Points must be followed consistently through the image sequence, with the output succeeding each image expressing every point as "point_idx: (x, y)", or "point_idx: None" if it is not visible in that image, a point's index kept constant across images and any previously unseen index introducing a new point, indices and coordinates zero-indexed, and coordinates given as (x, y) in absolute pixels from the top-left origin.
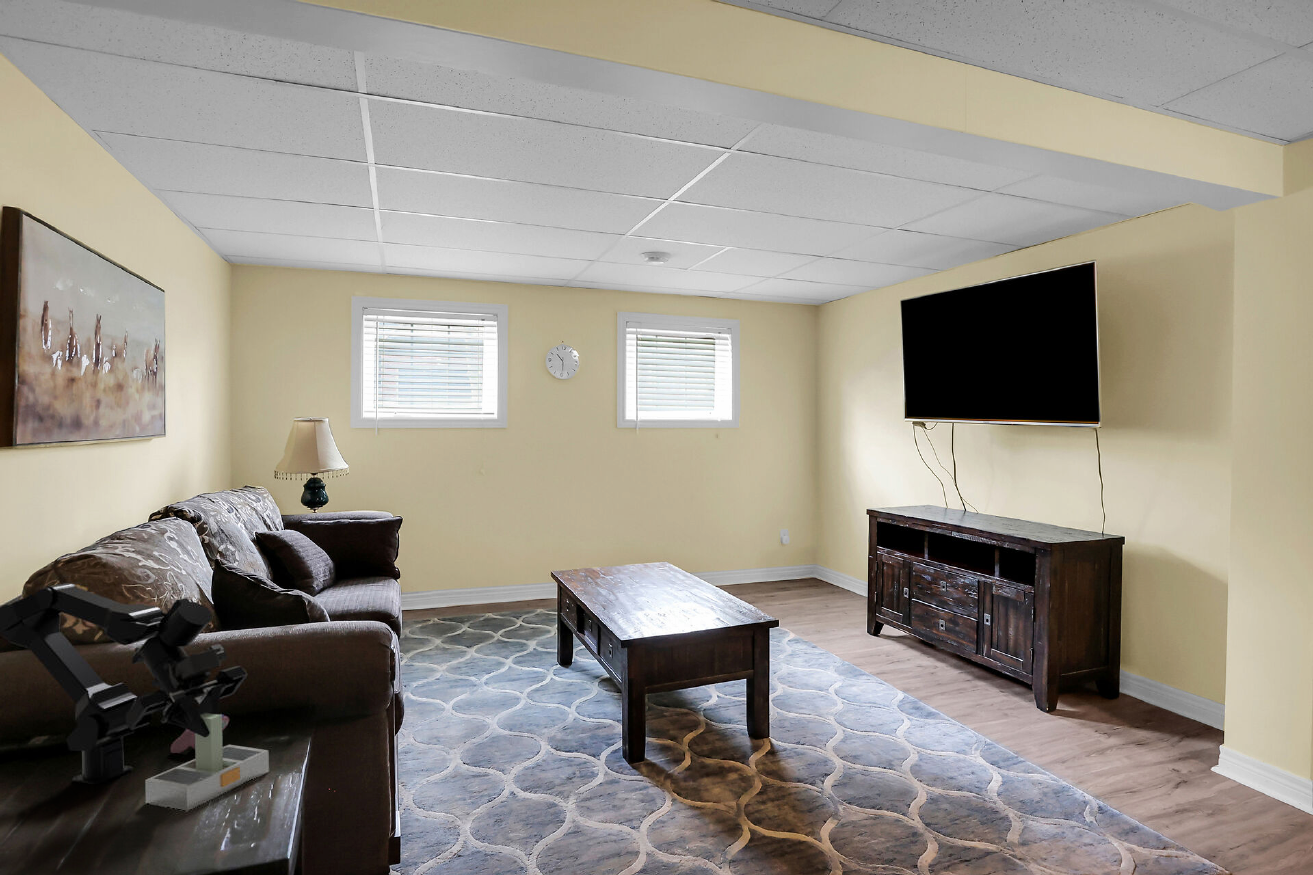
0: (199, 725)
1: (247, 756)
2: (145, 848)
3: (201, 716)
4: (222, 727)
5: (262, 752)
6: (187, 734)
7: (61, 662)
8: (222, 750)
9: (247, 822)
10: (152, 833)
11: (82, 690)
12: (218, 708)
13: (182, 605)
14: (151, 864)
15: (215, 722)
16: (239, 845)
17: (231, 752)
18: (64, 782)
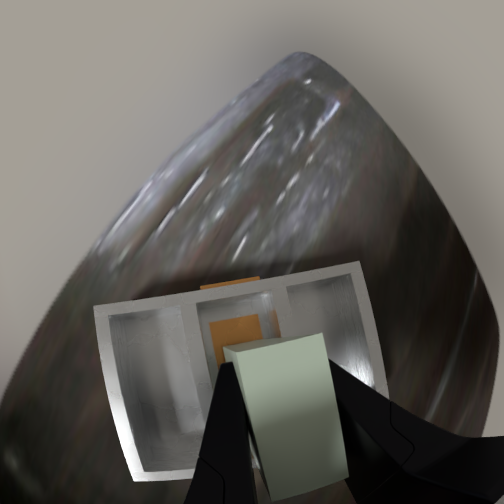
0: (353, 377)
1: (126, 382)
2: (410, 201)
3: (326, 452)
4: (221, 363)
5: (110, 308)
6: None
7: None
8: (226, 347)
9: (284, 128)
10: (397, 242)
11: None
12: (209, 463)
13: None
14: (408, 152)
15: (280, 341)
16: (320, 92)
17: (142, 450)
18: None
